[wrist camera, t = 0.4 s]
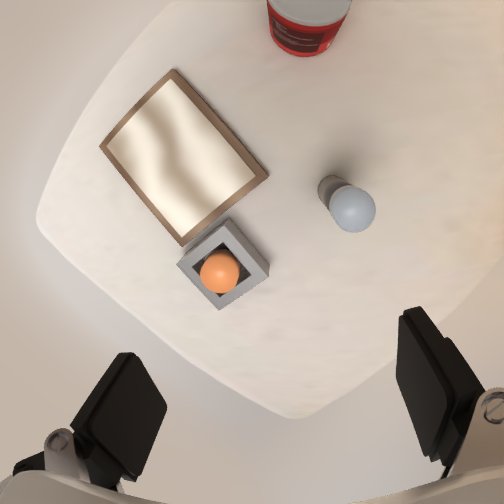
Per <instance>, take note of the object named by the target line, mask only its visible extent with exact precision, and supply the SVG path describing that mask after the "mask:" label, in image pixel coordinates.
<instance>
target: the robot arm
mask: <svg viewBox="0 0 504 504" xmlns="http://www.w3.org/2000/svg"><path fill="white" fill-rule="evenodd" d="M396 380H397V383H398V386H399V388H400V391H401V393H402V396H403V399H404V401H405V403H406V406H407V409H408V412H409V415H410V417H411V420H412V423H413V426H414V428H415V431H416V434H417V437H418V440H419V443H420V446H421V449H422V452H423V455H424V456H425V457H426V456H429V457H430V461H431V462H434V461H436V460H439V459H441V462H442V465H443V466H445V467H444V470H443V472H442V474H441V476H440V478H439V480H437V481H435V482H431V483H428V484H425V485H422V486H418V487H415V488H412V489H408V490H405V491H402V492H399V493H395V494H391V495H387V496H383V497H379V498H375V499H370V500H366V501H360V502H355V503H350V504H504V388H493V389H489V390H488V391H485V389H484V388H483V386H482V385H481V384H480V382H479V380H478V378H477V377H476V375H475V374H474V372H473V371H472V369H471V368H470V366H469V365H468V363H467V362H466V360H465V359H464V357H463V356H462V354H461V353H460V352H459V350H458V349H457V347H456V346H455V344H454V343H453V342H452V340H451V339H450V338H448V337H446V338H444V337H443V336H442V334H441V333H440V331H439V330H438V329H437V327H436V326H435V325H434V323H433V322H432V320H431V319H430V318H429V316H428V315H427V314H426V312H425V311H424V310H423V308H422V307H421V306H418V307H414V308H411V309H407V310H405V311H404V312H403V315H401V316H399V327H398V350H397V365H396ZM166 411H167V404H166V402H165V400H164V399H163V397H162V395H161V394H160V392H159V391H158V389H157V387H156V385H155V384H154V382H153V381H152V379H151V377H150V375H149V374H148V372H147V370H146V368H145V367H144V365H143V363H142V361H141V360H140V358H139V357H138V356H136V355H135V354H134V353H132V352H128V353H119V354H118V355H117V356H116V358H115V359H114V360H113V362H112V363H111V365H110V366H109V368H108V369H107V370H106V372H105V373H104V375H103V376H102V378H101V379H100V381H99V382H98V384H97V385H96V386H95V388H94V389H93V391H92V392H91V394H90V395H89V397H88V398H87V400H86V401H85V403H84V404H83V406H82V407H81V409H80V410H79V412H78V413H77V415H76V416H75V418H74V419H73V421H72V423H71V424H70V426H71V427H72V429H73V430H74V433H73V434H72V432H71V431H70V430H68V429H66V428H60V429H57V430H55V431H53V432H52V433H51V434H49V436H48V437H47V438H46V440H45V443H44V451H42V452H40V453H38V454H35V455H33V456H31V457H28V458H26V459H23V460H22V461H20V462H18V463H16V465H15V466H14V470H13V476H12V475H10V476H9V477H7V478H6V479H4V480H3V481H2V482H1V483H0V504H165V503H161V502H156V501H150V500H146V499H142V498H138V497H134V496H130V495H126V494H125V493H124V490H123V488H122V485H121V483H120V478H121V477H122V478H123V479H124V480H128V481H132V482H136V480H137V478H138V476H140V475H141V474H142V471H143V469H144V466H145V464H146V461H147V459H148V456H149V453H150V451H151V449H152V446H153V443H154V441H155V439H156V436H157V434H158V431H159V429H160V426H161V424H162V421H163V419H164V416H165V414H166Z"/></svg>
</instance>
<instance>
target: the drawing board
mask: <svg viewBox="0 0 504 504" xmlns="http://www.w3.org/2000/svg"><path fill="white" fill-rule="evenodd" d="M99 147H100V149H101V150H102V151H103V152H104V154H105V155H106V156H107V158H108V159H109V160H110V161H111V163H112V164H113V165H114V166H115V168H116V169H117V170H118V172H119V173H120V174H121V175H122V177H123V178H124V179H125V180H126V181H127V183H128V184H129V185H130V186H131V188H132V189H133V190H134V191H135V193H136V194H137V195H138V196H139V197H140V199H141V200H142V201H143V202H144V203H145V205H146V206H147V207H148V208H149V209H150V211H151V212H152V213H153V214H154V215H155V217H156V218H157V219H158V220H159V221H160V222H161V224H162V225H163V226H164V227H165V228H166V230H167V231H168V232H169V233H170V234H171V235H172V236H173V238H174V239H175V240H176V241H177V242H178V243H179V245H180V246H181V247H183V246H184V245H185V244H187V243H188V242H189V241H190V240H191V239H193V238H194V237H195V236H196V235H197V234H199V233H200V232H201V231H202V230H203V229H204V228H206V227H207V226H208V225H209V224H210V223H212V222H213V221H214V220H215V219H217V218H218V217H219V216H220V215H221V214H223V213H224V212H225V211H226V210H228V209H229V208H230V207H231V206H232V205H234V204H235V203H236V202H237V201H239V200H240V199H241V198H242V197H244V196H245V195H246V194H247V193H249V192H250V191H251V190H253V189H254V188H255V187H256V186H258V185H259V184H260V183H261V182H263V181H264V180H265V179H267V178H268V177H269V176H268V174H267V173H266V172H265V171H264V170H263V168H262V167H261V166H260V165H259V164H258V162H257V161H256V160H255V159H254V158H253V156H252V155H251V154H250V153H249V152H248V150H247V149H246V148H245V147H244V146H243V144H242V143H241V142H240V141H239V140H238V139H237V137H236V136H235V135H234V134H233V133H232V132H231V131H230V129H229V128H228V127H227V126H226V125H225V124H224V122H223V121H222V120H221V119H220V118H219V117H218V116H217V115H216V113H215V112H214V111H213V110H212V109H211V108H210V107H209V106H208V105H207V103H206V102H205V101H204V100H203V99H202V98H201V97H200V96H199V95H198V94H197V93H196V91H195V90H194V89H193V88H192V87H191V86H190V85H189V84H188V83H187V82H186V81H185V80H184V79H183V78H182V77H181V76H180V74H179V73H178V72H177V71H176V70H174V69H171V70H170V71H169V72H168V73H167V74H166V75H165V76H164V77H163V78H162V79H161V80H159V81H158V82H157V83H156V84H155V85H154V86H153V87H152V88H151V89H150V90H149V91H148V92H147V93H146V94H145V95H144V96H143V97H142V98H141V99H140V100H139V101H138V102H137V103H136V104H135V105H134V107H133V108H132V109H131V110H130V111H129V112H128V113H127V114H126V115H125V116H124V117H123V118H122V120H121V121H120V122H119V123H118V124H117V125H116V126H115V128H114V129H113V130H112V131H111V132H110V133H109V135H108V136H107V137H106V138H105V139H104V141H103V142H102V143H101V144H100V146H99Z"/></svg>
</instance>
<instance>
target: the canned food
mask: <svg viewBox="0 0 504 504" xmlns="http://www.w3.org/2000/svg"><path fill="white" fill-rule="evenodd" d="M351 1H352V0H267V7H268V15H269V24H270V32H271V35H272V38H273V39H274V41H275V43H276V44H277V45H278V46H279V47H280V48H282V49H283V50H284V51H286V52H288V53H290V54H292V55H296V56H301V57H309V56H314V55H317V54H320V53H322V52H323V51H325V50H326V49H327V48H328V47H329V46H330V45H331V43H332V41H333V39H334V38H335V36H336V34H337V32H338V30H339V28H340V26H341V24H342V23H343V21H344V19H345V17H346V15H347V13H348V11H349V9H350V5H351Z"/></svg>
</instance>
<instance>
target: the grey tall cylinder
mask: <svg viewBox="0 0 504 504" xmlns="http://www.w3.org/2000/svg"><path fill="white" fill-rule="evenodd" d="M318 195H319V198H320V199H321V201H322V202H323V203H324V205H325V206H326V207H327V209H328V210H329V212H330V213H331V216H332V217H333V219H334V220H335V222H336V223H337V224H338V226H339V227H340V228H342V229H343V230H345V231H347V232H353V233H354V232H360V231H363V230H365V229H366V228H367V227H369V225H370V224H371V223H372V221H373V220H374V217H375V212H376V207H375V203H374V200H373V198H372V197H371V196H370V195H369V194H368V193H367V192H366V191H364V190H362V189H360V188H358V187H356V186H353V185H351V184H349V183H348V182H346V181H344V180H342V179H340V178H338V177H336V176H329V177H326V178H324V179H323V180H322V181H321V182H320V184H319V186H318Z"/></svg>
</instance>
